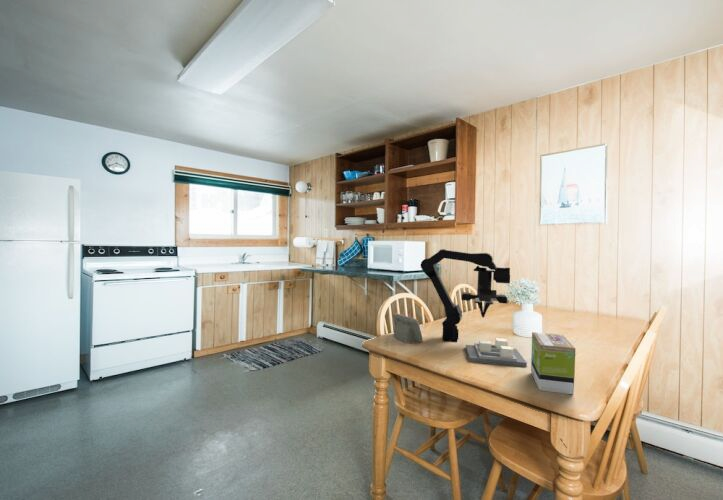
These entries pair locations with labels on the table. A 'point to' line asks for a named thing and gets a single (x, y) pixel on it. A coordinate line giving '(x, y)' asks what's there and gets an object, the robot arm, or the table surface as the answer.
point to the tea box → (553, 363)
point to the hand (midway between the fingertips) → (482, 317)
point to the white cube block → (484, 346)
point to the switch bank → (493, 356)
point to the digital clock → (406, 328)
